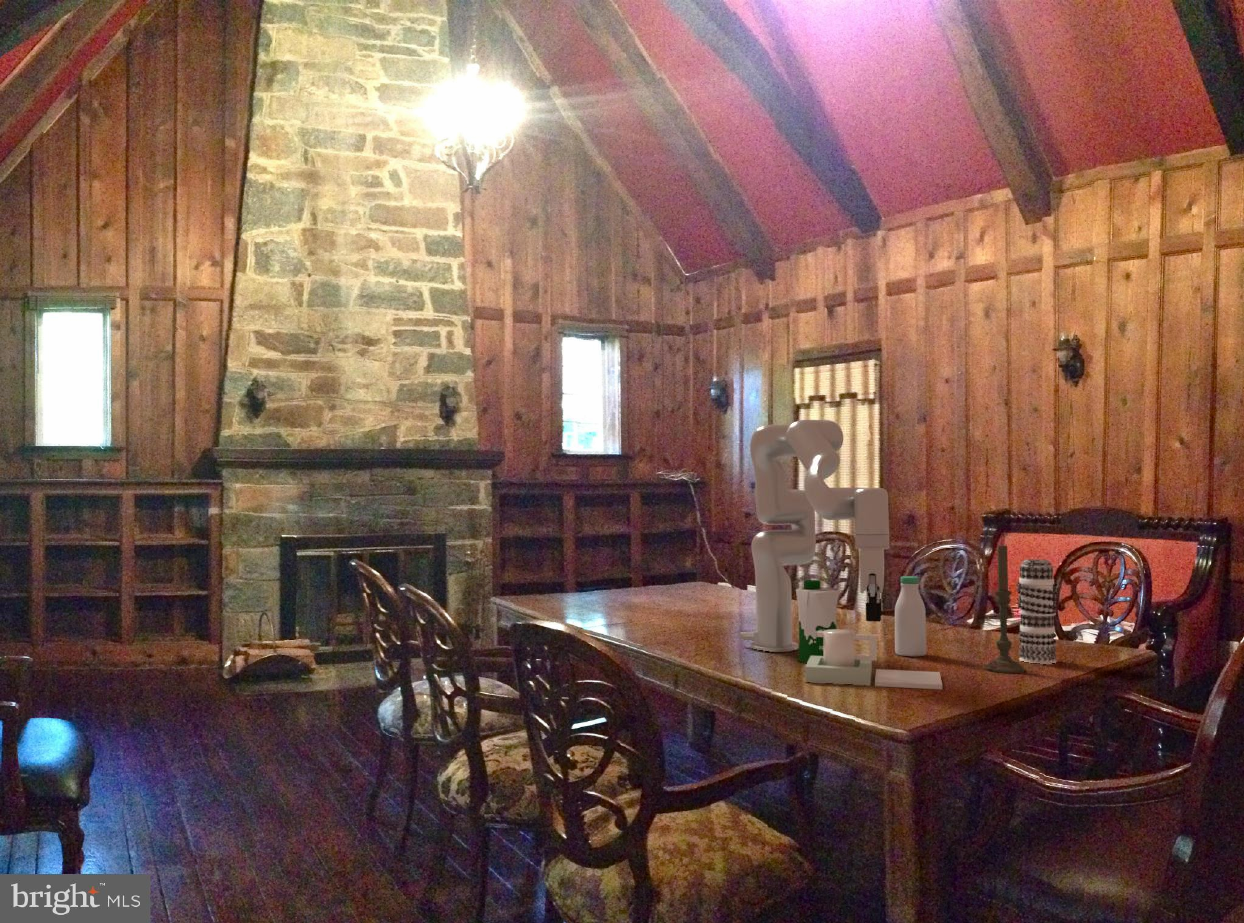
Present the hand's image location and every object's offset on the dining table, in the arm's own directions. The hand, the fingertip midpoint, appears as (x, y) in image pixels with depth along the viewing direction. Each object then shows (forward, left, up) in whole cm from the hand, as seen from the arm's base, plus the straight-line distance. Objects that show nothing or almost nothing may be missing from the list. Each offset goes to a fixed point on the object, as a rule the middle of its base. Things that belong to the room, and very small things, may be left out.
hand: (874, 618), depth 215 cm
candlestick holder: (+29, +19, -14) cm, 38 cm away
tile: (+7, 0, -14) cm, 16 cm away
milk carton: (-14, +17, -14) cm, 26 cm away
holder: (-8, 0, -14) cm, 16 cm away
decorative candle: (+38, +32, -14) cm, 52 cm away
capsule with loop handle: (-6, 0, -14) cm, 15 cm away
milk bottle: (+8, +34, -14) cm, 38 cm away
